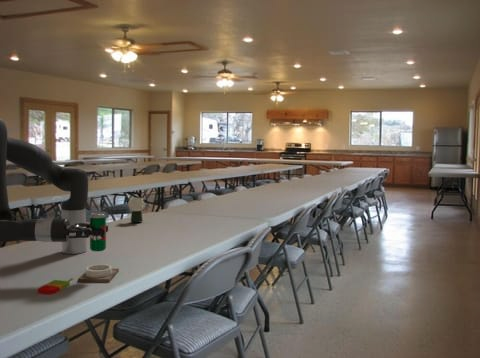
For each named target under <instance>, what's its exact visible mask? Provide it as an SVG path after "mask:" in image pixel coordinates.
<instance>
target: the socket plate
mask: <svg viewBox="0 0 480 358" xmlns="http://www.w3.org/2000/svg"><path fill="white" fill-rule="evenodd" d="M118 273H119V268H113V266H112V265H110V264H107V263H106V264H105V263H98V264H91V265H88V266H86V267H85V271H84V273H82V275H80V276H79V277H78V278H77V283H111V281H112V280H113V278H115V277H116V275H117V274H118Z"/></svg>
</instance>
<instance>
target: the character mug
mask: <svg viewBox="0 0 480 358" xmlns="http://www.w3.org/2000/svg"><path fill="white" fill-rule="evenodd" d="M127 207H128V208H129V211H130V212H131V211H132V212H131V216H130V217H131V218H130V222H131V223H142V222H143V221H144V220H143V213H142V211H144V210H145V209H146V202H144V198H142V197H131V198H129V201H128V202H127Z"/></svg>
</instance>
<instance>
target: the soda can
mask: <svg viewBox="0 0 480 358" xmlns="http://www.w3.org/2000/svg"><path fill="white" fill-rule="evenodd" d="M89 223H90V227H89V228H92V230H93V229H105V235H104V236H93V235H92V236H91V237H90V236H89V249H90V250H91V252H103V251H105V250H106V248H107V232H106V225H107V215H106V214H105V213H103V212H93V213H91V214H90V217H89Z"/></svg>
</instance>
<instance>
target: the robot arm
mask: <svg viewBox="0 0 480 358" xmlns="http://www.w3.org/2000/svg"><path fill="white" fill-rule="evenodd" d="M7 161H8V162H10V163H12V164H14V165H16V166H18V167H20V168H21V169H22V170H24V171H27V172H29V173H31V174H34V175H35V176H38V177H39V178H42V179H44V180H46V181H48V182H49V183H50V184H52V185H53V186H55V187H56V188H58V189H59V190H61V191H64V192H70V193H69V194H70V195H69V198H68V199H65V200H64V201H62V202H61V204H60V205H61V206H60V207H61V208H60V209H61V211H60V212H61V218H38V219H37V218H34V219H33V218H31V219H29V218H27V219H20V220H14V216H13V214H12V210H11V208H10V205H9V204H10V203H9V195H8V187H7V186H8V185H7V177H6V176H7V175H6V174H7ZM88 199H89V176H88V174H87V172H86V170H84V169H81V168H72V167H71V168H70V167H69V168H68V167H64V166H61V165H59V164H57V163H55V162H53V159H52V157H51V155H50V154H49V153H48V152H47V151H45V150H44V149H42V148H40V147H39V146H37V145H36V144H34V143H31V142H28V141H24V140H21V139H16V138H12V137H9V136H8V128H7V125H6V123H5V122H4V120H3V119H1V118H0V243H8V242H9V243H10V242H18V241H19V242H21V241H25V242H42V243H43V242H44V243H61V253H63V254H67V255H69V254H70V255H75V254H77V255H78V254H82V253H86V252H87V250H88V249H87V245H88V244H87V239H88V238H89V239H90V237H91V236H92V235H93V236H104V235H105V229H93V230H92V228H90V222H89V223H87V203H88ZM108 232H109V225H107V224H106V233H108Z"/></svg>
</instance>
